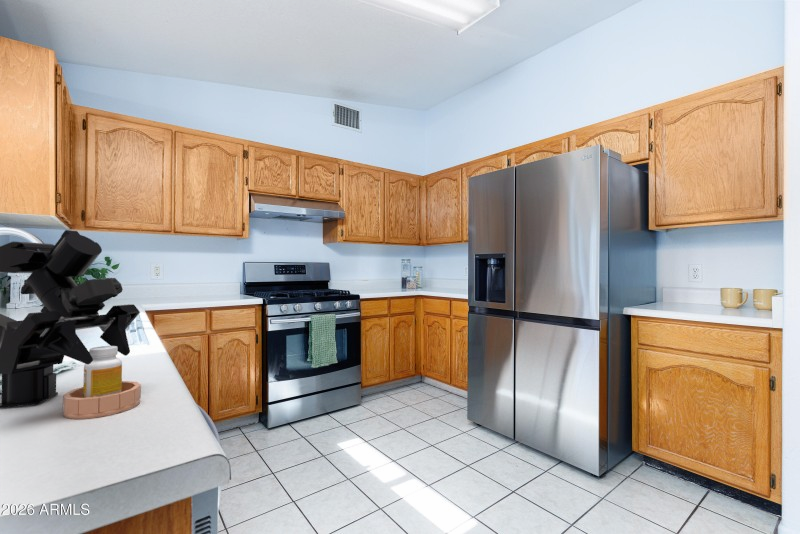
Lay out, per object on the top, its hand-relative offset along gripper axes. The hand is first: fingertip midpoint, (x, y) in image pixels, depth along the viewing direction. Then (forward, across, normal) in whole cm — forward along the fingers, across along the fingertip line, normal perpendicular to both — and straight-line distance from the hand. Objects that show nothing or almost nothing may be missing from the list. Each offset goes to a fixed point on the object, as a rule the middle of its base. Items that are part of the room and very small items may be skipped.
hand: (110, 357), depth 68 cm
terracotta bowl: (+5, 0, +7) cm, 9 cm away
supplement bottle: (+5, 0, +7) cm, 8 cm away
